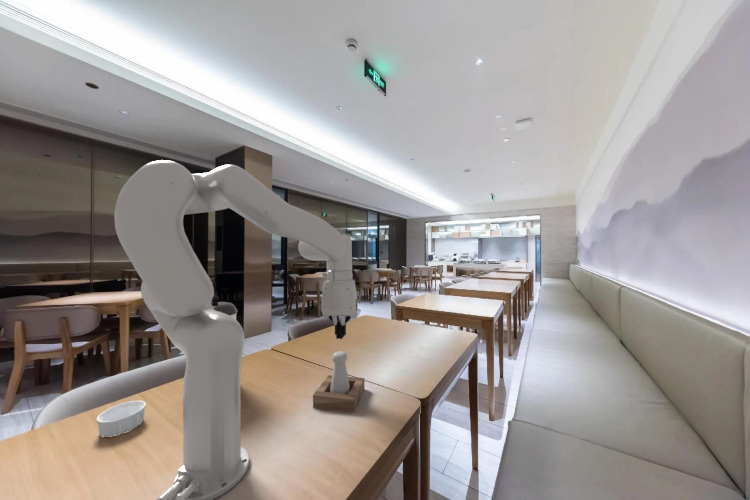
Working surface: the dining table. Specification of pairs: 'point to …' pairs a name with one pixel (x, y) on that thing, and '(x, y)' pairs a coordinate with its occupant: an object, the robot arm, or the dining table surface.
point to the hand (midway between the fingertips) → (340, 337)
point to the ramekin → (121, 418)
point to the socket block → (339, 395)
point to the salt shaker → (340, 374)
